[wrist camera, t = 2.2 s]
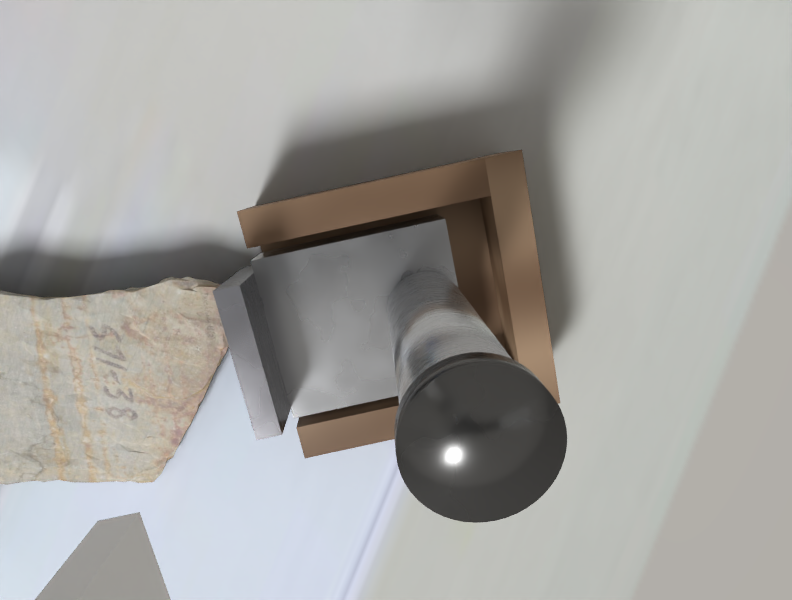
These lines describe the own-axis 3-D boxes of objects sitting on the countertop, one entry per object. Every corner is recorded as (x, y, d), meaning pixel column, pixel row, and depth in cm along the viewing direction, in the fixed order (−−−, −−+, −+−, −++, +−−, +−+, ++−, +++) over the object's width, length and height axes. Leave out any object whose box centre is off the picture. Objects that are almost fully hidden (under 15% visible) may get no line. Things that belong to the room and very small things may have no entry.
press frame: (254, 206, 25) (236, 211, 22) (501, 152, 25) (521, 149, 22) (312, 422, 28) (304, 458, 24) (536, 374, 28) (560, 403, 24)
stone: (253, 269, 27) (241, 279, 24) (260, 470, 29) (251, 498, 26) (-73, 267, 26) (-120, 277, 23) (-37, 473, 28) (-77, 503, 26)
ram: (240, 256, 25) (73, 367, 11) (444, 212, 25) (541, 266, 11) (279, 399, 26) (180, 656, 12) (471, 358, 26) (587, 568, 12)
